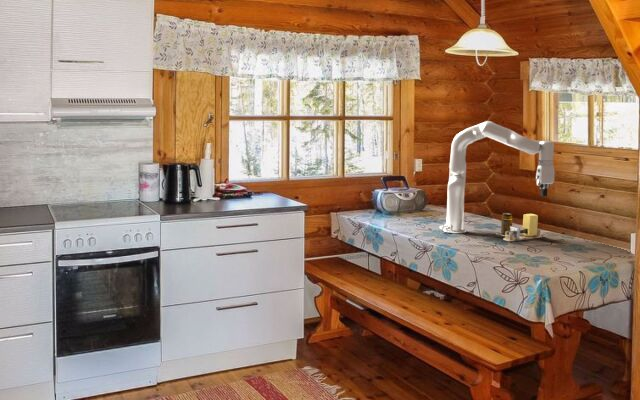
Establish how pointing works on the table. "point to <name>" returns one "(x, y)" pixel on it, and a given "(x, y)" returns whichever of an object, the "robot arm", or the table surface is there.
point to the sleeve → (530, 224)
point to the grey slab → (517, 232)
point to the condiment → (505, 223)
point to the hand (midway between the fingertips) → (543, 195)
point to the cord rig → (510, 236)
